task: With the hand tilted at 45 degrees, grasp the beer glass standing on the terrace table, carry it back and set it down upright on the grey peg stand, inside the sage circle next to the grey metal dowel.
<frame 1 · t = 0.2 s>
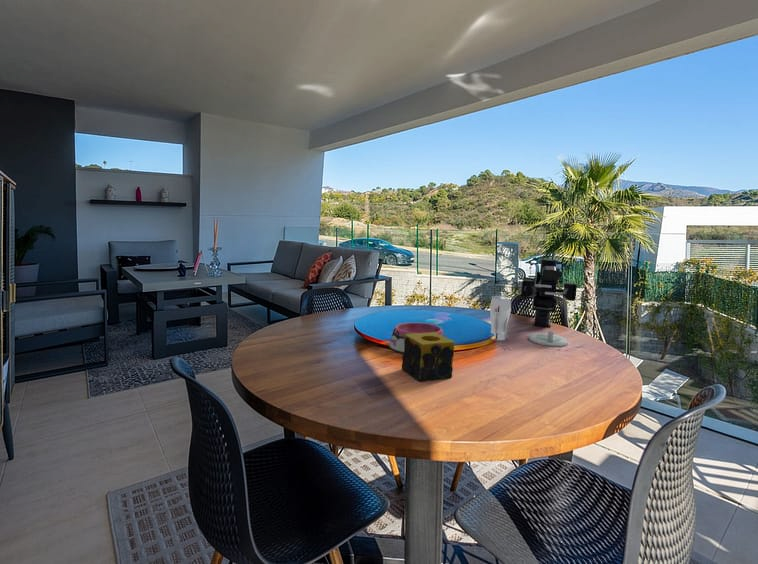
hand: (549, 294, 146), 17 cm above the table, tool horizontal, fingers open, 9 cm apart
dog bowl: (417, 348, 135), on the table
candle: (426, 374, 111), on the table
grey peg stand: (548, 341, 148), on the table
beer glass: (498, 339, 149), on the table
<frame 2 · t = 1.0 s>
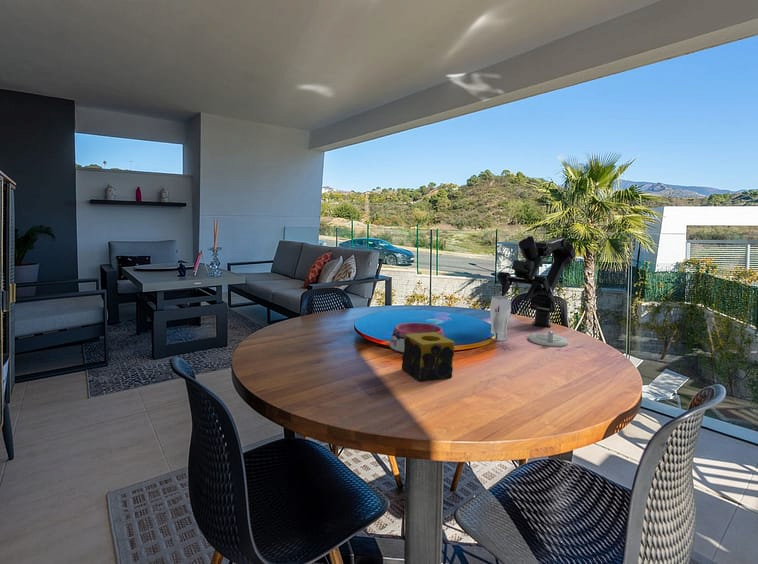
hand: (513, 298, 152), 14 cm above the table, tool tilted 45°, fingers open, 9 cm apart
nothing on the table moved.
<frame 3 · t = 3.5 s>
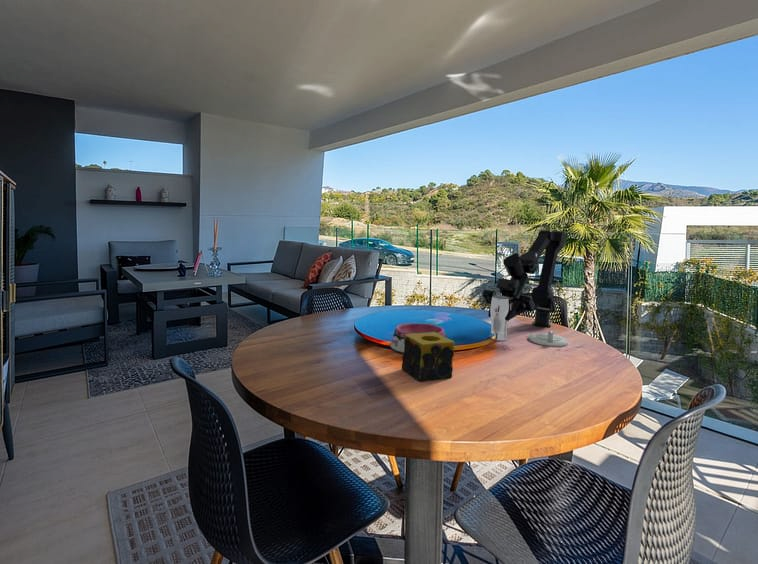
hand: (497, 318, 147), 8 cm above the table, tool tilted 45°, fingers closed on beer glass, 7 cm apart
beer glass: (498, 339, 149), on the table, touching gripper
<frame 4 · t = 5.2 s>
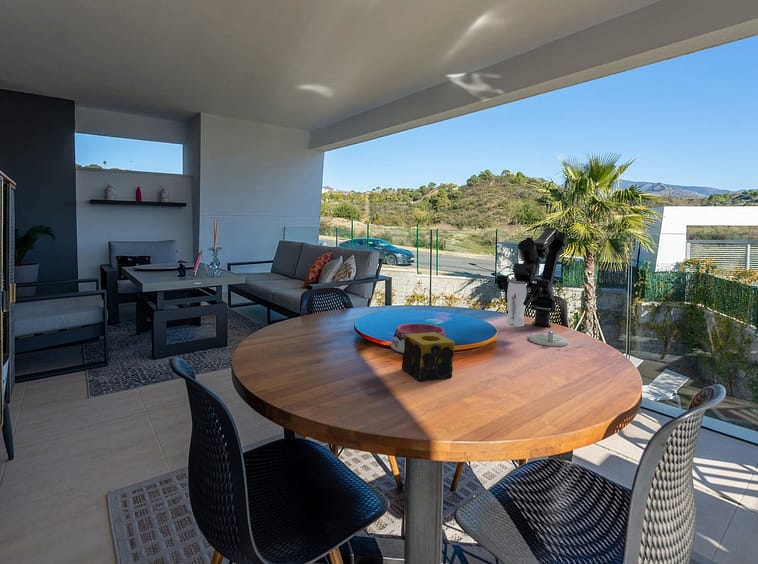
hand: (515, 303, 145), 13 cm above the table, tool tilted 45°, fingers closed on beer glass, 7 cm apart
beer glass: (515, 324, 147), point 5 cm above the table, touching gripper
when the fingers open (10 cm above the table, at t = 7.0 s): beer glass moves 1 cm, resting on grey peg stand.
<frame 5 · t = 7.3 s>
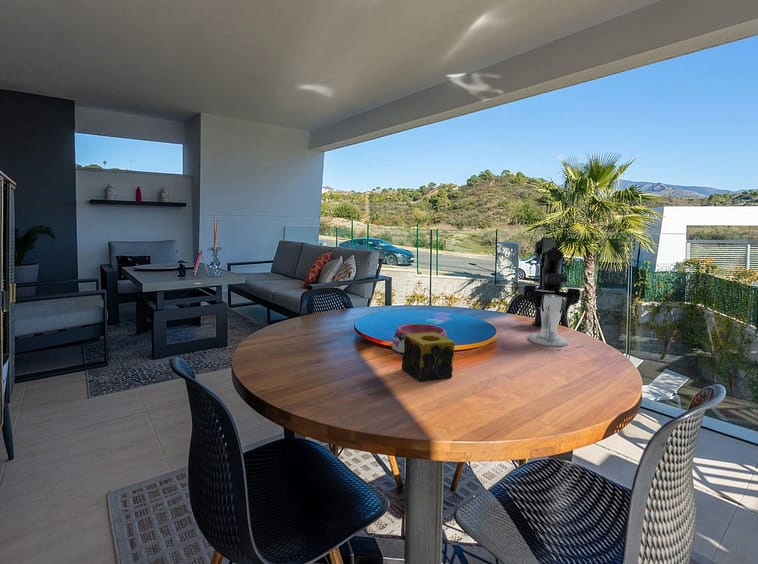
hand: (551, 313, 145), 10 cm above the table, tool tilted 45°, fingers open, 9 cm apart
beer glass: (548, 337, 148), point 1 cm above the table, touching grey peg stand
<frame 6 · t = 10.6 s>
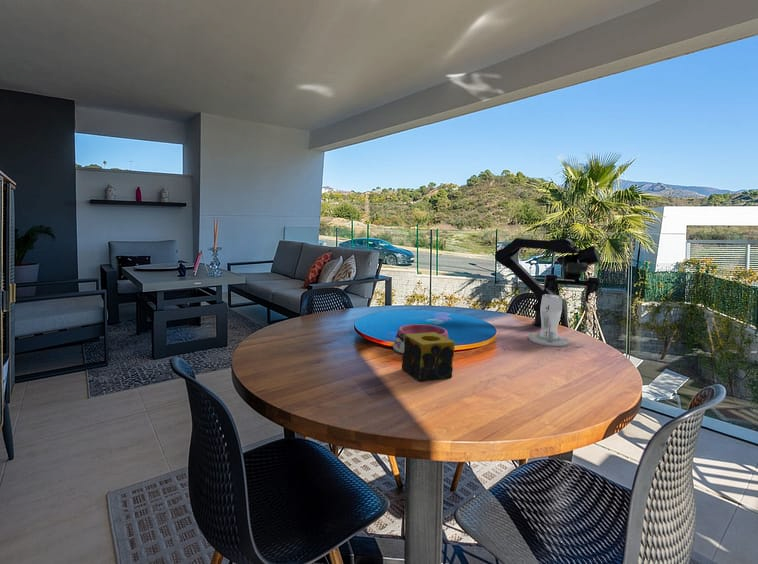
hand: (572, 301, 153), 14 cm above the table, tool tilted 45°, fingers open, 9 cm apart
at the end: beer glass inside the target area on the grey peg stand (0.4 cm from its centre), point 1.1 cm above the grey peg stand's base; beer glass tilted 0°; the gripper is holding nothing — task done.
